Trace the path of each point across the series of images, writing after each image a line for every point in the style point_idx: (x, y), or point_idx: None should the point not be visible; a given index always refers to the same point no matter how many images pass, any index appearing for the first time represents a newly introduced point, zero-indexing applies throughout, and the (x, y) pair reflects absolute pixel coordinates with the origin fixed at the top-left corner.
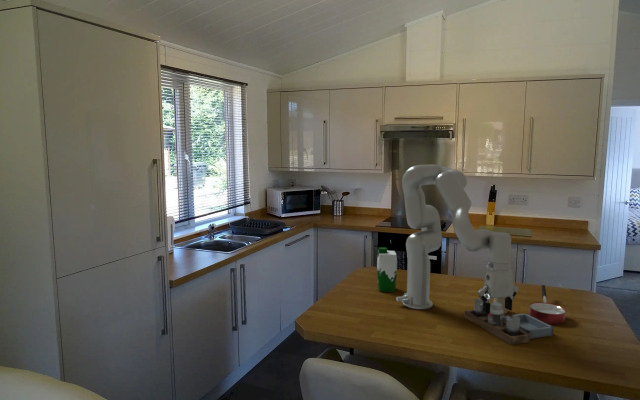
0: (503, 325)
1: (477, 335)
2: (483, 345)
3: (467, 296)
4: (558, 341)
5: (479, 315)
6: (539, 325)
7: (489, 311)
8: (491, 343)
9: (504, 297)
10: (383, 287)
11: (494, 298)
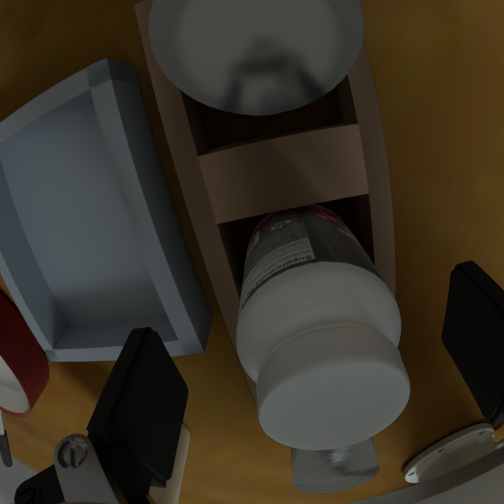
0: (270, 205)
1: (468, 162)
2: (486, 32)
3: (239, 500)
4: (2, 66)
5: None
6: (11, 231)
7: (477, 271)
8: (440, 34)
9: None
10: None
11: (180, 486)
